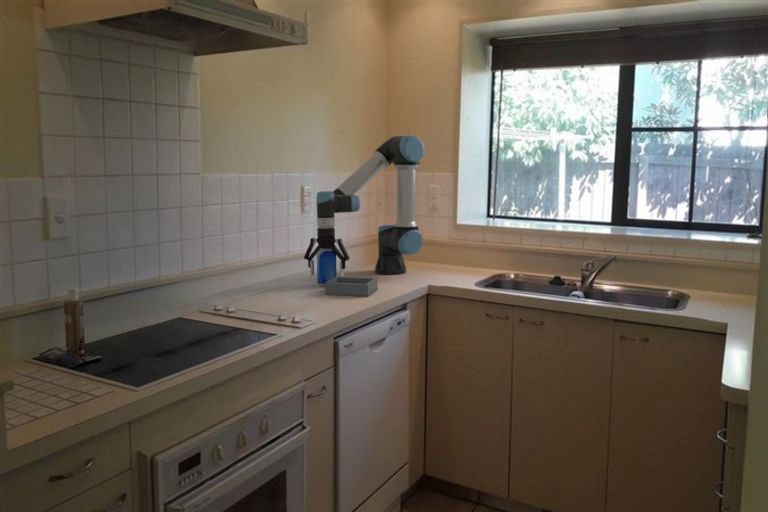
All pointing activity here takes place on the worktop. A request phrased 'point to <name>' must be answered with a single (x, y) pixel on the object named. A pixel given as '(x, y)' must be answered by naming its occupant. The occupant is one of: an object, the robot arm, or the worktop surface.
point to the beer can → (326, 266)
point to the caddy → (351, 286)
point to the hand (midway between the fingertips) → (326, 275)
